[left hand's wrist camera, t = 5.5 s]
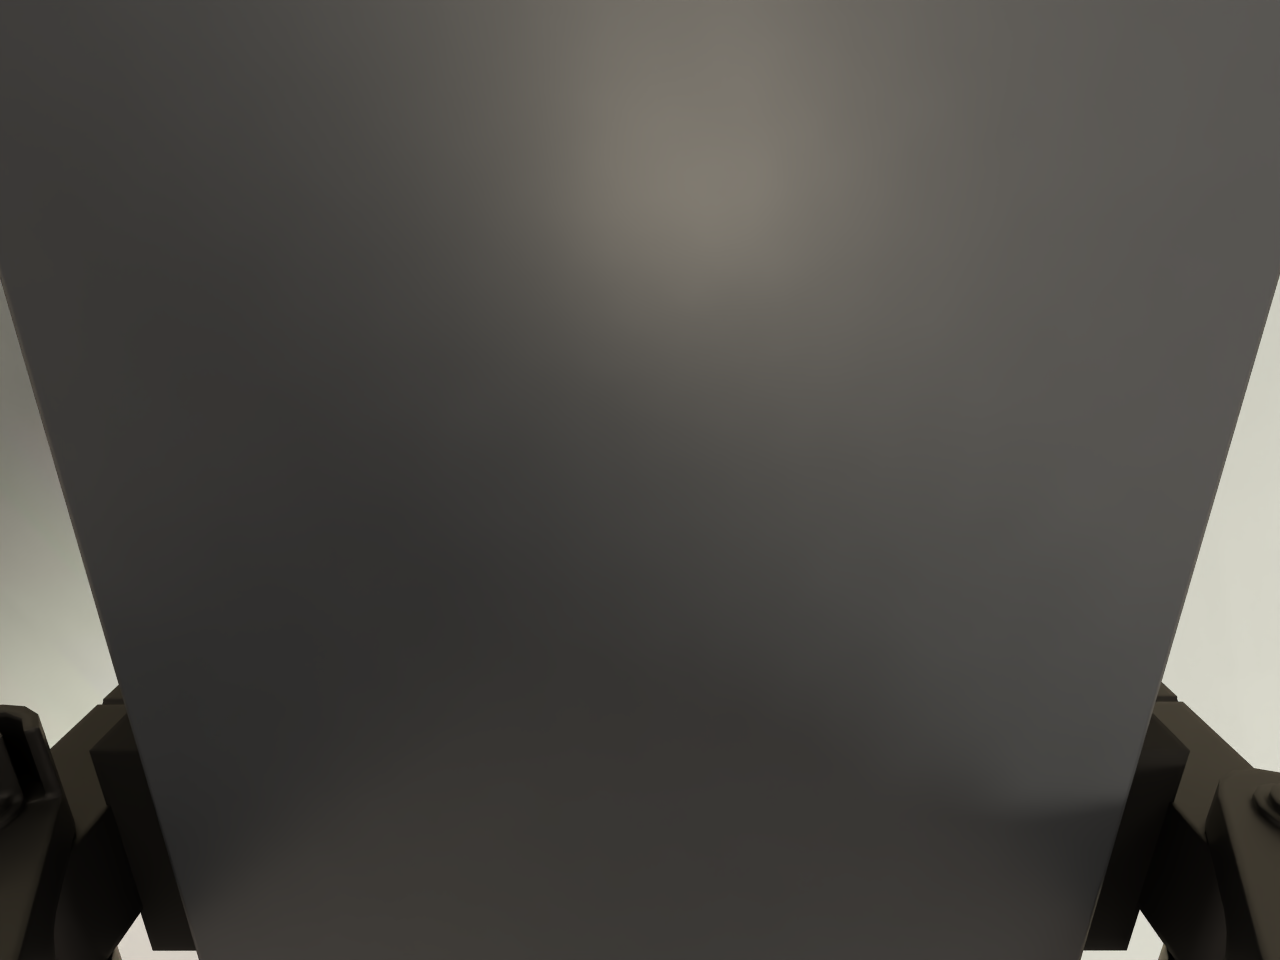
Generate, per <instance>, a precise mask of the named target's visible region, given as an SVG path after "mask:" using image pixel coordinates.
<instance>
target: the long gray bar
mask: <svg viewBox="0 0 1280 960" xmlns="http://www.w3.org/2000/svg"><path fill="white" fill-rule="evenodd" d="M1279 275H1280V0H0V279H1V282H2V285H3V289H4V292H5V296H6V299H7V303H8V306H9V309H10V313H11V316H12V320H13V323H14V327H15V330H16V333H17V337H18V340H19V344H20V347H21V351H22V354H23V357H24V361H25V364H26V368H27V371H28V375H29V378H30V381H31V385H32V388H33V392H34V395H35V399H36V402H37V406H38V409H39V412H40V416H41V419H42V423H43V426H44V430H45V433H46V436H47V440H48V443H49V447H50V450H51V454H52V457H53V460H54V464H55V467H56V471H57V474H58V478H59V481H60V484H61V488H62V491H63V495H64V498H65V502H66V505H67V508H68V512H69V515H70V519H71V522H72V526H73V529H74V532H75V536H76V539H77V543H78V546H79V550H80V553H81V557H82V560H83V563H84V567H85V570H86V574H87V577H88V581H89V584H90V587H91V591H92V594H93V598H94V601H95V605H96V608H97V611H98V615H99V618H100V622H101V625H102V629H103V632H104V635H105V639H106V642H107V646H108V649H109V653H110V656H111V659H112V663H113V666H114V670H115V673H116V677H117V680H118V683H119V687H120V690H121V694H122V697H123V701H124V704H125V707H126V711H127V714H128V718H129V721H130V725H131V728H132V732H133V735H134V738H135V742H136V745H137V749H138V752H139V756H140V759H141V762H142V766H143V769H144V773H145V776H146V780H147V783H148V786H149V790H150V793H151V797H152V800H153V804H154V807H155V810H156V814H157V817H158V821H159V824H160V828H161V831H162V834H163V838H164V841H165V845H166V848H167V852H168V855H169V858H170V862H171V865H172V869H173V872H174V876H175V879H176V882H177V886H178V889H179V893H180V896H181V900H182V903H183V907H184V910H185V913H186V917H187V920H188V924H189V927H190V931H191V934H192V937H193V941H194V944H195V948H196V951H197V955H198V958H199V960H1081V956H1082V953H1083V949H1084V946H1085V943H1086V939H1087V936H1088V932H1089V929H1090V925H1091V922H1092V918H1093V915H1094V912H1095V908H1096V905H1097V901H1098V898H1099V894H1100V891H1101V887H1102V884H1103V881H1104V877H1105V874H1106V870H1107V867H1108V863H1109V860H1110V857H1111V853H1112V850H1113V846H1114V843H1115V839H1116V836H1117V832H1118V829H1119V826H1120V822H1121V819H1122V815H1123V812H1124V808H1125V805H1126V802H1127V798H1128V795H1129V791H1130V788H1131V784H1132V781H1133V777H1134V774H1135V771H1136V767H1137V764H1138V760H1139V757H1140V753H1141V750H1142V747H1143V743H1144V740H1145V736H1146V733H1147V729H1148V726H1149V722H1150V719H1151V716H1152V712H1153V709H1154V705H1155V702H1156V698H1157V695H1158V692H1159V688H1160V685H1161V681H1162V678H1163V674H1164V671H1165V667H1166V664H1167V661H1168V657H1169V654H1170V650H1171V647H1172V643H1173V640H1174V636H1175V633H1176V630H1177V626H1178V623H1179V619H1180V616H1181V612H1182V609H1183V606H1184V602H1185V599H1186V595H1187V592H1188V588H1189V585H1190V581H1191V578H1192V575H1193V571H1194V568H1195V564H1196V561H1197V557H1198V554H1199V551H1200V547H1201V544H1202V540H1203V537H1204V533H1205V530H1206V526H1207V523H1208V520H1209V516H1210V513H1211V509H1212V506H1213V502H1214V499H1215V496H1216V492H1217V489H1218V485H1219V482H1220V478H1221V475H1222V471H1223V468H1224V465H1225V461H1226V458H1227V454H1228V451H1229V447H1230V444H1231V440H1232V437H1233V434H1234V430H1235V427H1236V423H1237V420H1238V416H1239V413H1240V410H1241V406H1242V403H1243V399H1244V396H1245V392H1246V389H1247V385H1248V382H1249V379H1250V375H1251V372H1252V368H1253V365H1254V361H1255V358H1256V355H1257V351H1258V348H1259V344H1260V341H1261V337H1262V334H1263V330H1264V327H1265V324H1266V320H1267V317H1268V313H1269V310H1270V306H1271V303H1272V300H1273V296H1274V293H1275V289H1276V286H1277V282H1278V279H1279Z"/></svg>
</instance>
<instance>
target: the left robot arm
mask: <svg viewBox="0 0 1280 960" xmlns="http://www.w3.org/2000/svg"><path fill="white" fill-rule="evenodd" d="M1139 910H1141V912H1142V913H1143V915H1144V916H1145V917H1146V919H1147V920H1148V922H1149V923H1150V925H1151V926H1152V927H1153V929H1154V930H1155V932H1156V933H1157V935H1158V936H1159V937H1160V939H1161V940H1162V942H1163V943H1164V944H1163V947H1162V950H1161V953H1160V956H1159V959H1158V960H1280V773H1279V772H1273V771H1268V770H1262V769H1256V768H1253V767H1252V766H1251V765H1250V764H1249V763H1248V762H1247V761H1246V760H1245V759H1244V758H1243V757H1241V756H1240V755H1239V754H1238V753H1237V752H1236V751H1235V750H1234V749H1233V748H1232V747H1231V746H1230V745H1229V744H1228V743H1226V742H1225V741H1224V740H1223V739H1222V738H1221V737H1220V736H1219V735H1218V734H1217V733H1216V732H1215V731H1214V730H1213V729H1211V728H1210V727H1209V726H1208V725H1207V724H1206V723H1205V722H1204V721H1203V720H1202V719H1201V718H1200V717H1199V716H1198V715H1196V714H1195V713H1194V712H1193V711H1192V710H1191V709H1190V708H1189V707H1188V706H1187V705H1186V704H1185V703H1184V702H1178V700H1177V696H1176V695H1175V694H1174V693H1173V692H1172V691H1171V690H1170V689H1169V688H1167V687H1166V686H1165V685H1164V684H1163V683H1162V682H1161V685H1160V688H1159V692H1158V695H1157V698H1156V702H1155V705H1154V709H1153V712H1152V716H1151V719H1150V722H1149V726H1148V729H1147V733H1146V736H1145V740H1144V743H1143V747H1142V750H1141V753H1140V757H1139V760H1138V764H1137V767H1136V771H1135V774H1134V777H1133V781H1132V784H1131V788H1130V791H1129V795H1128V798H1127V802H1126V805H1125V808H1124V812H1123V815H1122V819H1121V822H1120V826H1119V829H1118V832H1117V836H1116V839H1115V843H1114V846H1113V850H1112V853H1111V857H1110V860H1109V863H1108V867H1107V870H1106V874H1105V877H1104V881H1103V884H1102V887H1101V891H1100V894H1099V898H1098V901H1097V905H1096V908H1095V912H1094V915H1093V918H1092V922H1091V925H1090V929H1089V932H1088V936H1087V939H1086V943H1085V946H1084V949H1083V950H1127V948H1128V945H1129V941H1130V938H1131V935H1132V932H1133V929H1134V926H1135V923H1136V919H1137V916H1138V913H1139ZM140 912H141V915H142V918H143V921H144V925H145V928H146V931H147V934H148V937H149V940H150V943H151V947H152V950H153V951H196V948H195V944H194V941H193V937H192V934H191V931H190V927H189V924H188V920H187V917H186V913H185V910H184V907H183V903H182V900H181V896H180V893H179V889H178V886H177V882H176V879H175V876H174V872H173V869H172V865H171V862H170V858H169V855H168V852H167V848H166V845H165V841H164V838H163V834H162V831H161V828H160V824H159V821H158V817H157V814H156V810H155V807H154V804H153V800H152V797H151V793H150V790H149V786H148V783H147V780H146V776H145V773H144V769H143V766H142V762H141V759H140V756H139V752H138V749H137V745H136V742H135V738H134V735H133V732H132V728H131V725H130V721H129V718H128V714H127V711H126V707H125V704H124V701H123V697H122V694H121V690H120V687H119V685H118V686H117V687H116V688H115V689H114V690H113V691H112V692H111V693H109V694H108V695H107V696H106V697H105V698H104V699H103V704H102V705H97V706H96V707H95V708H93V709H92V710H91V711H90V712H89V713H88V714H87V715H86V716H85V717H84V718H83V719H82V720H81V721H80V722H79V723H77V724H76V725H75V726H74V727H73V728H72V729H71V730H70V731H69V732H68V733H67V734H66V735H65V736H64V737H63V738H61V739H60V740H59V741H58V742H57V743H56V744H55V745H54V746H53V747H52V748H51V749H50V748H49V745H48V742H47V739H46V736H45V733H44V730H43V727H42V724H41V721H40V718H39V716H38V714H37V713H35V712H33V711H32V710H30V709H29V708H27V707H25V706H13V705H0V960H122V959H121V956H120V953H119V950H118V947H117V945H118V944H119V942H120V941H121V940H122V938H123V937H124V935H125V934H126V932H127V931H128V930H129V928H130V927H131V925H132V924H133V922H134V921H135V919H136V918H137V917H138V915H139V914H140Z"/></svg>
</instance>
